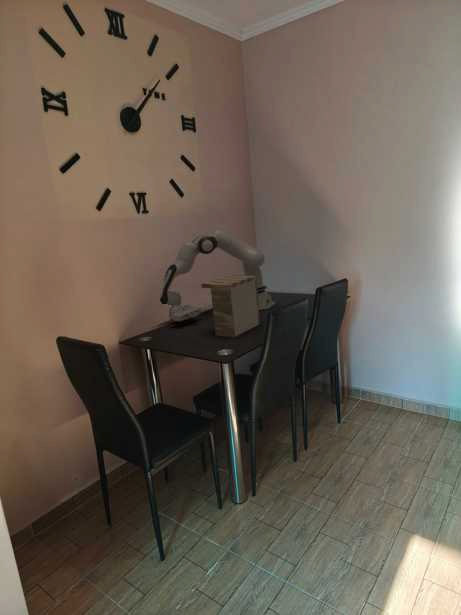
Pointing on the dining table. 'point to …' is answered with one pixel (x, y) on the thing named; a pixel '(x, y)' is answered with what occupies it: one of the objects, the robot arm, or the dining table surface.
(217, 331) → the wooden shelf
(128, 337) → the dining table surface
